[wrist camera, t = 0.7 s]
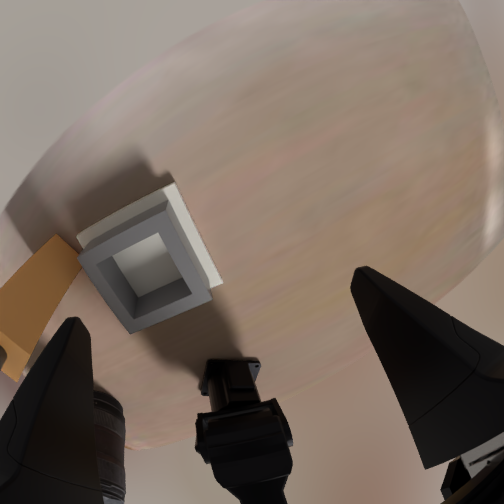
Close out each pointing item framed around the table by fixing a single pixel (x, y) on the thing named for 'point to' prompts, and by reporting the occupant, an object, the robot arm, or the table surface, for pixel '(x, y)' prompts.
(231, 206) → the table surface
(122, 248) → the socket
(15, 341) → the plug
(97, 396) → the camera lens
